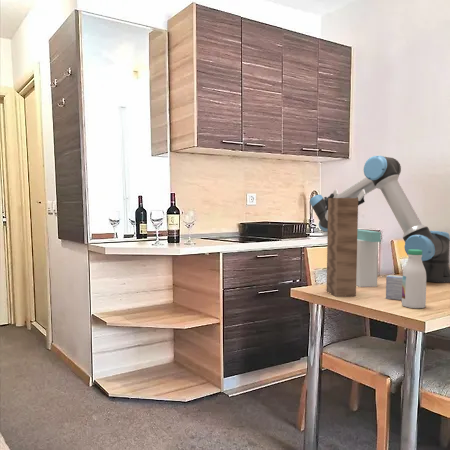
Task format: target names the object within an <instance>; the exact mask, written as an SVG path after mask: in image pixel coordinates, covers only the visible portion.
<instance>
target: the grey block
mask: <svg viewBox="0 0 450 450" xmlns="http://www.w3.org/2000/svg"><path fill="white" fill-rule="evenodd" d="M378 258H379V242H369V241H364V240H359V239H357V273H356V287H360V288H372V287H374V288H375V287H378V261H379V259H378Z"/></svg>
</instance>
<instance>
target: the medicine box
mask: <svg viewBox="0 0 450 450" xmlns="http://www.w3.org/2000/svg"><path fill="white" fill-rule="evenodd" d="M402 279H403V275H397V274H395V275H394V274H388V275H386V278H385V280H386V283H385V299H387V300H396V301H402Z"/></svg>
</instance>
